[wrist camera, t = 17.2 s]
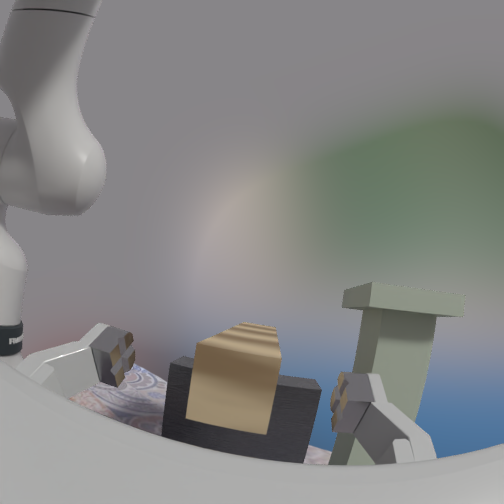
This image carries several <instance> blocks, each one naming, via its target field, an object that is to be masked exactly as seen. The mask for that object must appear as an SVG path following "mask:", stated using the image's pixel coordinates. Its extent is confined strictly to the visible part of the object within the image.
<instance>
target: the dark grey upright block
mask: <svg viewBox="0 0 504 504" xmlns="http://www.w3.org/2000/svg"><path fill="white" fill-rule="evenodd" d="M193 364H194V359H193V358H189V357H184V356H183V357H181V358H179V359H177V360H175V361H173V362H171V363H170V368H169V376H168V383H167V391H166V399H165V407H164V416H163V425H162V435H161V436H162V437H165V438H168V439H172V440H175V441H179V442H182V443H186V444H190V445H194V446H198V447H202V448H206V449H210V450H215V451H219V452H224V453H229V454H234V455H240V456H246V457H252V458H258V459H265V460H273V461H282V462H291V463H303V462H304V459H305V455H306V452H307V448H308V444H309V441H310V437H311V433H312V429H313V425H314V421H315V417H316V413H317V409H318V404H319V400H320V395H321V391H322V390H321V388H320V386H319V385H318V383H317V382H316V380H315V379H307V378H299V377H291V376H284V375H278V380H277V386H276V391H275V396H274V400H273V405H272V410H271V415H270V420H269V424H268V429H267V434H266V435H264V434H258V433H252V432H246V431H240V430H235V429H230V428H225V427H220V426H215V425H211V424H207V423H202V422H198V421H194V420H190V419H187V418H186V412H187V404H188V397H189V390H190V384H191V377H192V370H193Z"/></svg>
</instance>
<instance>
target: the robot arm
mask: <svg viewBox="0 0 504 504" xmlns="http://www.w3.org/2000/svg"><path fill="white" fill-rule="evenodd" d="M101 2H102V0H16V1H15V3H14V5H13V8H12V12H11V13H10V16H9V18H8V22H7V25H6V27H5V31H4V33H3V37H2V40H1V43H0V89H1V90H2V91H3V92H4V93H5V94H6V95H7V96H8V98H9V100H10V101H11V103H12V106H13V109H14V112H15V116H16V119H9V118H3V117H0V504H504V444H499V445H496V446H493V447H489V448H485V449H482V450H477V451H474V452H469V453H464V454H460V455H455V456H450V457H444V458H438V459H437V457H436V454H435V450H434V447H433V444H432V441H431V438H430V436H429V435H428V434H427V433H426V432H424V431H423V430H422V429H421V428H420V427H419V426H417V425H416V424H415V423H414V422H413V421H412V420H411V419H409V418H408V417H407V416H406V415H405V414H404V413H403V412H401V411H400V410H399V409H398V408H397V407H396V406H394V405H393V404H392V403H388V401H387V398H386V394H385V391H384V387H383V384H382V381H381V377H380V375H379V374H374V373H366V374H365V373H351V372H341V373H340V374H339V377H338V385H337V386H336V387H335V388H334V390H333V392H332V396H331V403H330V406H331V411H332V412H333V413H334V414H333V416H332V418H331V422H332V432H339V433H354V434H353V435H354V436H355V437H356V439H357V440H358V441H359V443H360V444H361V445H362V447H363V448H364V449H365V451H366V452H367V453H368V455H369V456H370V457H371V459H372V460H373V461H374V462H375V465H319V464H303V463H291V462H282V461H273V460H265V459H258V458H252V457H246V456H240V455H234V454H229V453H224V452H219V451H215V450H210V449H206V448H202V447H198V446H194V445H190V444H186V443H182V442H179V441H175V440H172V439H168V438H165V437H162V436H158V435H155V434H152V433H149V432H146V431H143V430H140V429H138V428H135V427H132V426H129V425H127V424H124V423H121V422H119V421H116V420H114V419H111V418H109V417H106V416H104V415H102V414H99V413H97V412H95V411H92V410H90V409H88V408H86V407H84V406H81V405H79V404H77V403H75V402H73V401H71V400H69V399H68V398H71V397H73V396H75V395H76V394H78V393H80V392H82V391H84V390H86V389H88V388H90V387H92V386H94V385H96V384H98V383H100V382H102V383H105V384H108V385H111V386H114V387H117V388H118V386H119V385H120V384H121V382H122V381H123V379H124V378H125V376H124V373H125V372H128V371H130V369H131V368H132V367H133V364H134V361H135V349H134V348H133V347H132V345H131V343H132V342H133V335H132V333H130V332H128V331H125V330H121V329H119V328H116V327H113V326H109V325H106V324H103V323H98V324H96V325H95V326H94V327H93V328H92V329H91V330H90V331H89V332H88V333H87V334H86V335H85V336H84V337H83V338H82V339H81V340H80V341H79V342H76V341H75V342H71V343H68V344H64V345H61V346H57V347H54V348H50V349H47V350H43V351H40V352H36V353H32V354H30V355H29V356H28V357H26V358H25V359H23V357H22V355H21V349H22V340H23V323H22V321H21V312H22V304H23V296H24V289H25V283H26V277H27V271H28V269H27V261H26V258H25V255H24V253H23V251H22V249H21V248H20V246H19V245H18V244H17V242H16V241H15V240H14V239H13V238H12V237H11V236H10V235H9V234H8V233H7V230H6V225H5V216H6V210H7V207H8V205H11V206H15V207H18V208H22V209H26V210H30V211H34V212H38V213H41V214H46V215H63V216H66V215H67V216H69V215H70V216H73V215H74V216H78V215H81V214H82V213H84V212H85V211H86V210H88V209H89V208H90V207H91V206H92V205H93V204H94V202H95V201H96V200H97V198H98V197H99V195H100V193H101V191H102V189H103V186H104V183H105V179H106V171H107V165H106V158H105V154H104V151H103V149H102V147H101V145H100V143H99V142H98V141H97V140H96V139H95V137H94V136H93V135H92V133H91V132H90V130H89V129H88V128H87V125H86V124H85V121H84V119H83V117H82V114H81V111H80V107H79V103H78V97H77V75H78V69H79V65H80V61H81V57H82V53H83V50H84V46H85V43H86V40H87V37H88V34H89V31H90V29H91V26H92V24H93V21H94V18H95V17H96V14H97V12H98V9H99V7H100V5H101Z"/></svg>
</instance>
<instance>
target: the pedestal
mask: <svg viewBox="0 0 504 504" xmlns="http://www.w3.org/2000/svg"><path fill="white" fill-rule="evenodd" d="M464 305H465V295H460V294H454V293H446V292H439V291H432V290H425V289H418V288H411V287H403V286H397V285H390V284H383V283H376V282H371V283H367V284H364V285H360V286H357V287H353V288H350V289H346V290H344V295H343V302H342V308H349V309H357V310H363V315H362V322H361V328H360V334H359V340H358V346H357V351H356V356H355V361H354V367H353V371H352V373H365V374H366V373H374V374H379V375H380V377H381V381H382V384H383V387H384V391H385V394H386V398H387V401H388V403H392V404H393V405H394V406H396V407H397V408H398V409H399V410H400V411H401V412H403V413H404V414H405V415H406V416H407V417H408V418H409V419H411V420H412V421H413V422H414V423H415V419H416V416H417V412H418V409H419V405H420V401H421V397H422V393H423V389H424V385H425V380H426V376H427V371H428V366H429V361H430V356H431V351H432V345H433V338H434V332H435V325H436V317H463V315H464ZM353 434H354V433H339V432H338V434H337V437H336V441H335V444H334V447H333V451H332V454H331V457H330V461H329V464H328V465H375V462H374V461H373V460H372V459H371V457H370V456H369V455H368V453H367V452H366V451H365V449H364V448H363V447H362V445H361V444H360V443H359V441H358V440H357V439H356V437H355V436H354V435H353Z"/></svg>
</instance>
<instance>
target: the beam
mask: <svg viewBox="0 0 504 504" xmlns="http://www.w3.org/2000/svg"><path fill="white" fill-rule="evenodd" d="M281 359H282V358H281V353H280V348H279V343H278V338H277V332H276V328H275V327H270V326H264V325H258V324H252V323H246V322H243V323H241V324H239V325H237V326H234V327H232V328H230V329H228V330H226V331H223V332H221V333H219V334H217V335H214V336H212V337H210V338H208V339H205V340H203V341H201V342H198V343H197V345H196V351H195V358H194V364H193V370H192V377H191V384H190V390H189V397H188V404H187V412H186V418H187V419H190V420H194V421H198V422H202V423H207V424H211V425H215V426H220V427H225V428H230V429H235V430H240V431H246V432H252V433H258V434H264V435H266V434H267V429H268V424H269V420H270V415H271V410H272V405H273V400H274V396H275V391H276V386H277V380H278V375H279V370H280V364H281Z"/></svg>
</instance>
